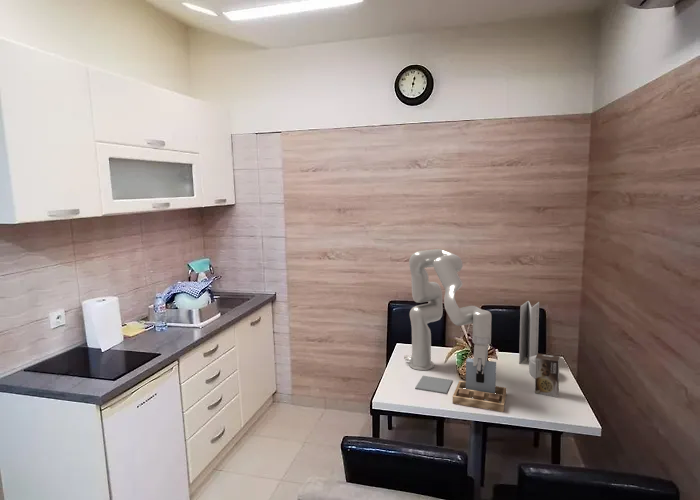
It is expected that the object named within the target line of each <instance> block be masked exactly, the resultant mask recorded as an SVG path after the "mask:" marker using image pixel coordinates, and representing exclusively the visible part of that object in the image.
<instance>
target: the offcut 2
mask: <svg viewBox="0 0 700 500" xmlns="http://www.w3.org/2000/svg"><path fill="white" fill-rule="evenodd" d="M484 398H485V393H484V392H478V391H475V392H474V395H473V398H472V399H478V400H484ZM484 401H485V400H484Z"/></svg>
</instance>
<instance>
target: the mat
mask: <svg viewBox="0 0 700 500" xmlns="http://www.w3.org/2000/svg"><path fill="white" fill-rule="evenodd" d="M452 383H453V380H452V379H447V378H441V377H434V376H428V375H422V376H421V378H420V379H419V380H418V382H417V384H416V386H415V388H414V389H415V390H419V391H426V392H432V393H437V394H445V395H448V393H449V389H450V387H451V385H452Z"/></svg>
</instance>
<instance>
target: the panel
mask: <svg viewBox="0 0 700 500" xmlns="http://www.w3.org/2000/svg"><path fill="white" fill-rule="evenodd" d="M473 360H474V358H472V357H471V358H469V357H467V358H466V361H465V382H466V389H469V390H476V391H482V392H489V393H495V388H496V386H497V385H496V383H497V361H492V360H491V361H490V360H487V362H486V366H485V368H484V373H483V374H484V383H480V382H476V373H477V365H476V366H475V367H474V366H473ZM481 366H482V365H481ZM482 367H483V366H482ZM481 369H482V368H481Z"/></svg>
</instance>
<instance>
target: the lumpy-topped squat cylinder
mask: <svg viewBox="0 0 700 500" xmlns="http://www.w3.org/2000/svg"><path fill="white" fill-rule="evenodd" d="M536 356H537V355H535V356H531V357H530V358H529V361H528V374H529V375H530V376H531V377H532V378H533V379H535V371H536Z"/></svg>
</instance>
